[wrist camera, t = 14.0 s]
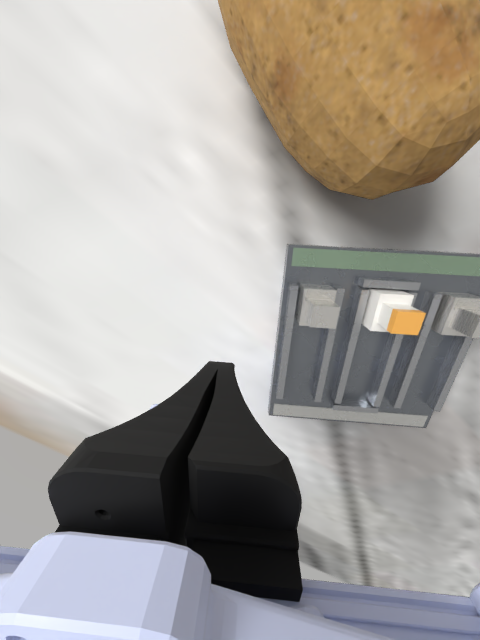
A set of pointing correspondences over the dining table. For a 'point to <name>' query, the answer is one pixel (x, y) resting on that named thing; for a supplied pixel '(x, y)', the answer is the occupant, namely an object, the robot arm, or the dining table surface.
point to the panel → (370, 334)
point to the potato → (364, 85)
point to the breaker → (392, 312)
